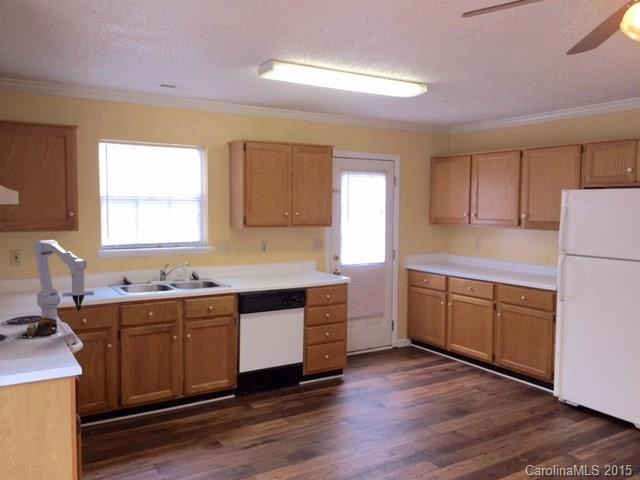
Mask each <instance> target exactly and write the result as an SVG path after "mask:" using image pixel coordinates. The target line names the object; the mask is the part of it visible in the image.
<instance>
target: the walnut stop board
mask: <svg viewBox="0 0 640 480" xmlns="http://www.w3.org/2000/svg"><path fill="white" fill-rule="evenodd" d="M36 329H37V322H30V323H28V326H27V327H26V336H27V337H34V335H35V333H36Z"/></svg>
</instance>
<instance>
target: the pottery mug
mask: <svg viewBox="0 0 640 480" xmlns="http://www.w3.org/2000/svg"><path fill="white" fill-rule="evenodd" d="M57 321H58V320H57ZM57 321H56V320H54V319H52V318H40V320H39V321H38V322H36V331H35V333H34V335H35V334H37V335H38V334H42V335H45V334H46V332H48V333H51V332H52V331H53V329H54V331H55V332H56V331H57V330H58V324H56V323H57Z"/></svg>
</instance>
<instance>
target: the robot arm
mask: <svg viewBox="0 0 640 480" xmlns="http://www.w3.org/2000/svg"><path fill="white" fill-rule="evenodd" d="M32 248H33V249H32V250H33V254H34V257H35V260H36V268H37V273H38V278H39V283H40V289H41V290H39V292H38V293H37V294H36V297H37V298H36V304H37V306H38V307H39V309H40V310H41V312H40V313H41V316H40V317H41V318H52V319H54V320H56V321H57V323H56V324H57V325H58V324H59V320H58V313H57V312H58V309H57V308H58V307H59V305H60V303H61V297H60V295H59V292H58V290H56V289H55V288H54V287H53V281H52V277H51V271H50V266H49V260H48V259H49V257H50V256H52V255H53V254H54V255H55V254H56V255H57V256H58V257H59V258H60V260H61V261H62V262H63V263H64V264H65V265H67V266H68V269H69V272H70V273H69V274H70V275H71V291H67V292H62V293H61V296H62V298H65V297H72V300H73V302H74V304H75V306H76V311H78V312H79V311H81V307H82V303H83V300H84V298H85V296H94V295H95V290H85V270H86V268H87V262H86V260H85V259H84V258H78V257H77V256H76V255H74V254H73V253H72V252H71V251H66V250H65V249H63V248H62V247H61V246H60V245H59V242H58V241H57V240H55V239H46V240H45V239H44V240H43V239H42V240H38V239H37V240H36V241H35V242H34V243H33V245H32ZM41 318H40V319H41Z"/></svg>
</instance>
